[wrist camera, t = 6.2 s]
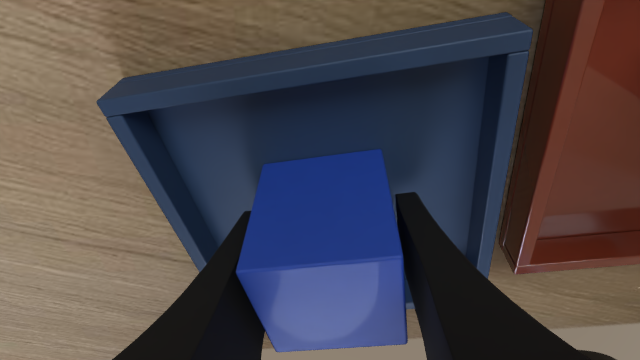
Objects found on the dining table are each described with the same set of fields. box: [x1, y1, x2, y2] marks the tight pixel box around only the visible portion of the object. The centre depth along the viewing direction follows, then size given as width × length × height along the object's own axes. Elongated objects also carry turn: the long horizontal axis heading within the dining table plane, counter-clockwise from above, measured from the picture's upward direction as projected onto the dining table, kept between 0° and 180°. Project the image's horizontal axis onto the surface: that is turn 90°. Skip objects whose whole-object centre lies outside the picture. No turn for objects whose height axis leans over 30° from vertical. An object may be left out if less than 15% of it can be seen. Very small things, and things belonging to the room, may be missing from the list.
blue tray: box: [97, 12, 533, 309], centre depth 13 cm, size 11×11×2 cm
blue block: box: [236, 149, 408, 352], centre depth 11 cm, size 4×4×4 cm
